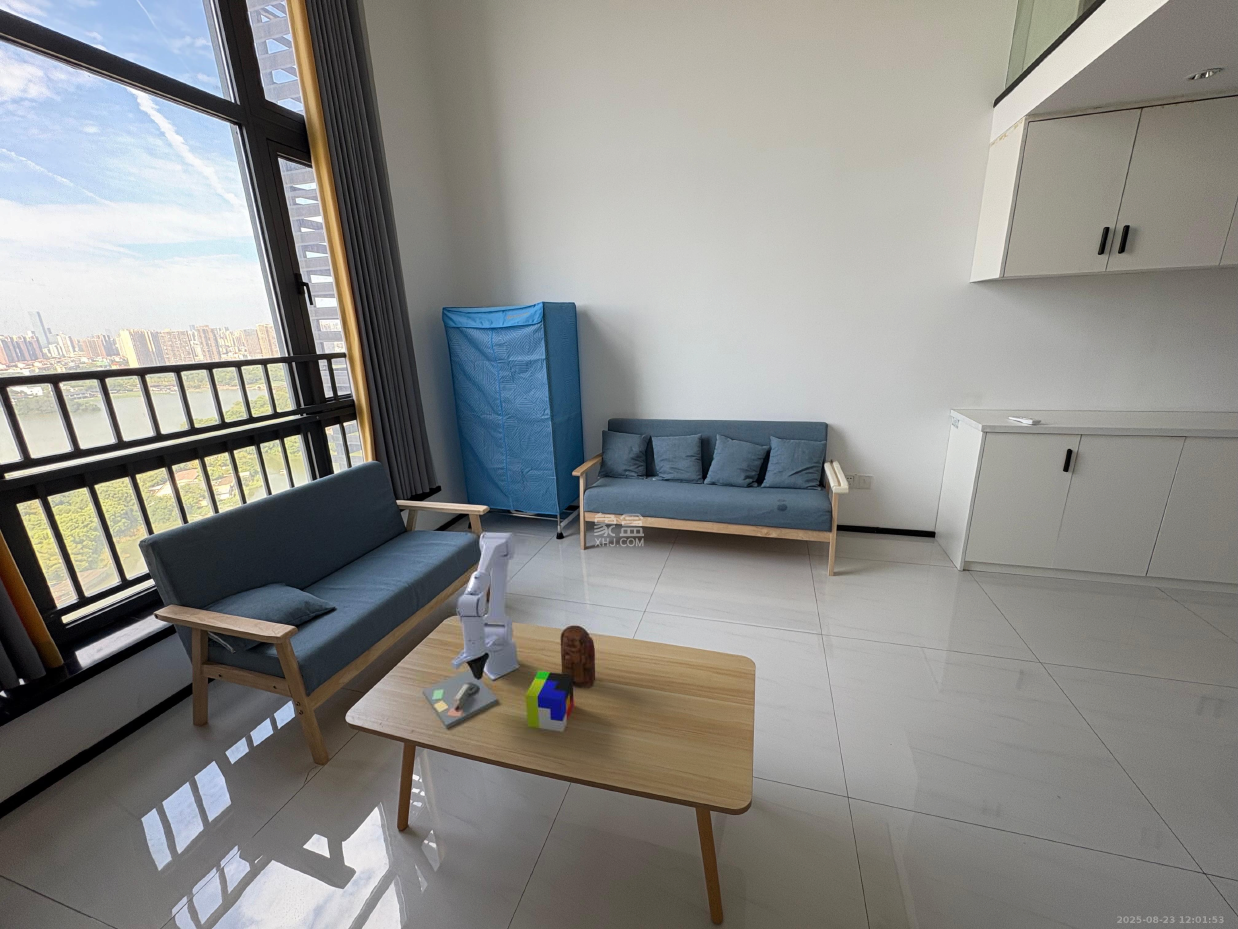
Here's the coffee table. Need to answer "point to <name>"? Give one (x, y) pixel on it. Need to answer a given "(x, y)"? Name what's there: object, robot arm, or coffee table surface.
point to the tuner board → (447, 691)
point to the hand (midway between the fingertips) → (478, 677)
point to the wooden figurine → (578, 656)
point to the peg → (464, 694)
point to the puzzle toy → (550, 701)
